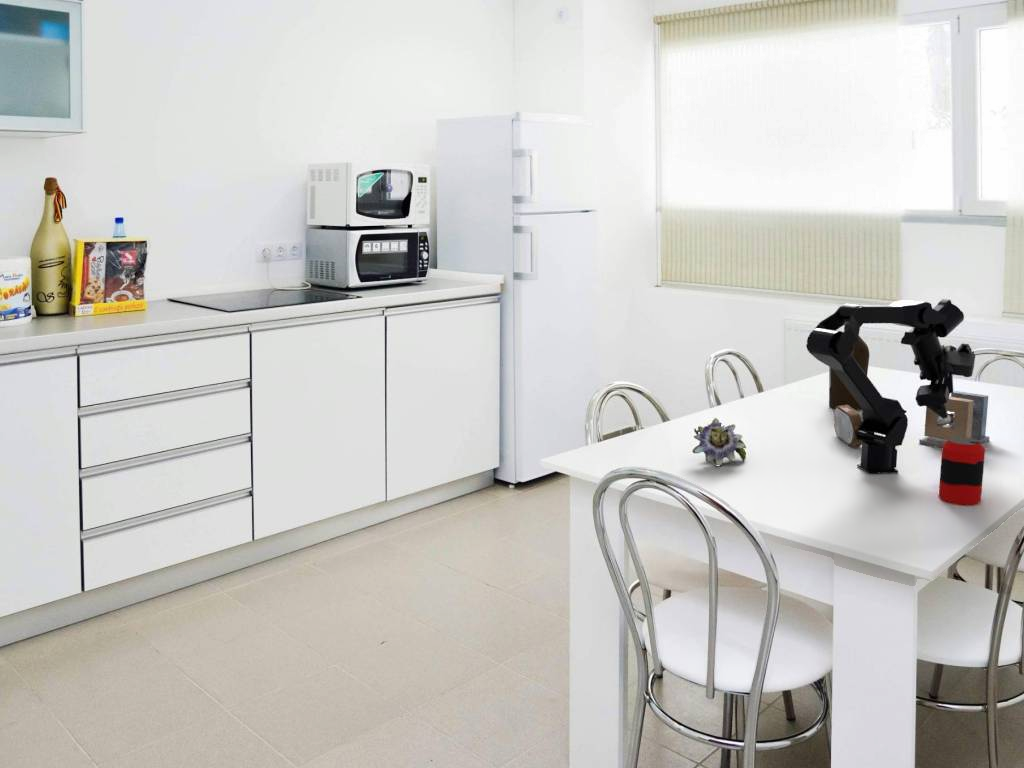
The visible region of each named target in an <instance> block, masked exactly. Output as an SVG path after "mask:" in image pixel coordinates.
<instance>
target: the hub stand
mask: <svg viewBox="0 0 1024 768" xmlns="http://www.w3.org/2000/svg"><path fill="white" fill-rule="evenodd" d="M950 397H956V398H962V399H969V400H974V405H973V417H972V430H971V439H976V440H978V441H980V443H981V445H982V444H984V443H988V442H989V441H990V438H991V437H990V436H988V435H986V432H987V429H986V428H987V420H988V419H987V418H988V407H989V395H985V394H978V393H973V392H972V393H971V392H966V391H958V390H953V393H950ZM947 415H948V417H947V418H942V417H940V416H939V417H938V418H937V423H938V424H939V425H941V426H943V425H950V426H954V419H955V412H950V411H949V412H947ZM918 440H919V441H918V444H919V443H920V445H924V446H930V445H931V447H935V446H936V448H940V447H941V449H942V445H943V444H944V443H945V442H946V441H947V440H944V439H938V438H933V437H928V436H924V437H922V438H920V439H918Z"/></svg>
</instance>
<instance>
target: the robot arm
mask: <svg viewBox="0 0 1024 768" xmlns="http://www.w3.org/2000/svg"><path fill="white" fill-rule="evenodd" d="M932 305H933V304H932V303H931V302H928V301H920V300H910V299H901V300H897V301H893V302H892V303H891V304H852V303H851V304H850V303H845V304H842V305H840V306H839V307H838V308H837V309H836V311H835V312H834V313H832V314H830V315H828V316H827V317H826V318H824V319H822V320H821V321H820V322H819V323H818V324H817V325H816V327H815V328H814V329H813V330H812V331H810V332H809V335H808V337H807V340H806V344H805V346H806V350H807V351H808V353H809V354H810V355H812V356H813V357H814V358H815V359H816V360H817V361H819V362H821V363H822V364H824V365H826V366H828V368H829V367H831V368H832V369H833V371H834V372H835V373H836V375H837V376H838V377H839V379H840V380H841V381H842V382H843V384H844V385H845V386H846V388H847V389H848V390H849V392H850V393H851V394H852V396H853V397H854V398H855V400H856V401H857V402H858V404H859V405H860V406H861V408H862V409H861V410H862V411H861V412H862V413H861V418H862V422H861V423H860V425H859V426H858V428H857V429H856V430H855V435H856V439H857V440H862V445H861V452H860V463H857V464H856V466H857V467H858V468H860V469H861V470H863V471H865V472H866V473H868V474H871V475H874V474H876V475H877V474H896V473H899V469H897V463H898V449H897V447H898V446H902V445H903V441H904V439H905V436H906V433H907V429H908V424H909V423H908V422H909V419H908V417H907V415H906V413H907V410H906V409H904V408H903V407H902V404H901V403H900V401H899V400H897V399H895V398H889V397H885V396H883V395H882V394H881V393H880V391H879V390H878V389H877V388H876V386H875V385H874V383H873V382H872V381H871V379H870V378H869V376H868V374H867V375H866V374H865V373H864V371H863V370H862V368H861V367H860V366H859V364H858V363H857V362H856V360H855V359H854V357H853V355H854V346H853V344H854V343H855V342H856V341H857V339H858V336H860V330H861V327H862V325H863V324H892V325H897V326H900V327H901V326H902V327H908V328H911V329H910V330H909V331H905V332H904V335H903V336H902V338H901V339H900V344H901V345H908V346H910V347H911V350H912V352H913V354H914V359H913V363H914V365H915V366H918V367H919V370H920V373H919V379H920V381H922V380H923V381H924V380H927V381H929V382H930V383H929V384H926V385H920V386H919V387H918V389H917V391H916V394H915V398H914V399H915V402H916V404H917V406H918V407H925V408H926V407H928V408H930V409H931V410H932V411H934V412H935V413H936V414H938V415H939V416H940V417H942V418H947V417H948V415H947V413H948V411H947V408H946V402H947V401H948V399H949V397H950V396H951V393H953V392H954V378H953V377H954V376H959V377H960V376H962V377H964V378H971V377H972V376H973V373H974V370H975V369H974V368H975V361H976V354H975V351H972V348H971V346H970V344H969V343H961V344H960V345H959V346H958V347H955V346H953V345H952V344H951V345H944V344H943V345H942V344H941V342H940V340H939V338H946V337H947V336H948V335H949V334H951V332H952V331H953V330H955V329H956V327H958V326H959V325H960V324H961V323H962V322H963V321H964V320H965V315H964V312H963V311H962V310H961V309H960V308H959V307H958V306H957V305H956V304H953V302H952V300H951V299H947V298H946V299H945V298H942V299H940V300H939V301H938V303H937V304H936V305H935V306H934V307H933V306H932ZM845 323H849V326H848V328H847V329H846V330H845V331H844V330H843V331H841V330H839V329H840V328H842V327H844V324H845ZM879 434H880V435H879Z"/></svg>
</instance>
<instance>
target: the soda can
mask: <svg viewBox="0 0 1024 768" xmlns="http://www.w3.org/2000/svg"><path fill="white" fill-rule="evenodd" d="M985 453H986V449H985V447H984V446H983V445H982V444H981V443H980V441H978V440H976V439H971V438H964V437H953V438H949V439H948V440H947V441H946V442H945V443H944V444H943V445H942V448H941V457H940V458H941V459H940V460H941V461H940V470H939V471H940V473H939V487H938V498H939V499H940V500H941V501H943V502H944V501H945V502H944V503H948V504H950V503H951V505H955V504H957V505H956V506H976V505H979V503H980V502H981V501H982V490H983V481H984V480H983V479H984V465H985V455H986V454H985ZM975 504H976V505H975Z"/></svg>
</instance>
